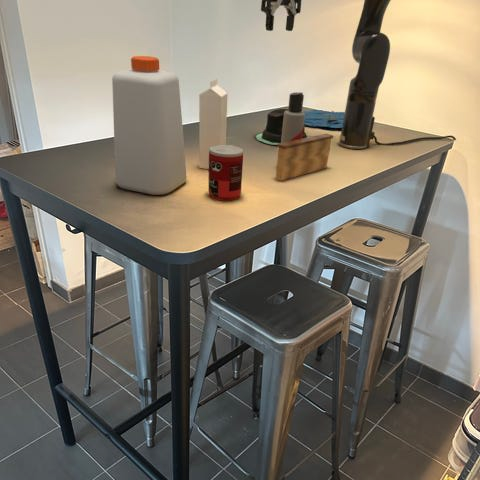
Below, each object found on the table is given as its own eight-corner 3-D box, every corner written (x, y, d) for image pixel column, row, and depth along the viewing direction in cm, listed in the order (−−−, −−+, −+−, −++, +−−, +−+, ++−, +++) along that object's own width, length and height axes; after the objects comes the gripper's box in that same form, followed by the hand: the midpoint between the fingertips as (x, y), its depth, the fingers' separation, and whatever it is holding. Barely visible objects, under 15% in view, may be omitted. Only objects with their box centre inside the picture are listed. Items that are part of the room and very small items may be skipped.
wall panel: (321, 165, 136) (326, 133, 131) (328, 168, 135) (333, 135, 130) (273, 178, 125) (277, 143, 119) (280, 181, 123) (284, 146, 118)
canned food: (207, 189, 115) (208, 144, 109) (239, 190, 116) (241, 145, 110) (208, 200, 109) (209, 153, 103) (242, 201, 110) (244, 154, 103)
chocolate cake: (279, 126, 170) (326, 138, 161) (250, 159, 165) (296, 174, 156) (272, 89, 158) (322, 100, 148) (240, 123, 152) (290, 137, 143)
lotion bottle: (296, 172, 130) (306, 95, 118) (277, 170, 131) (285, 93, 119) (298, 166, 135) (308, 91, 123) (279, 164, 135) (287, 89, 124)
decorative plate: (311, 136, 169) (313, 121, 166) (277, 116, 192) (278, 102, 188) (378, 129, 178) (381, 115, 175) (338, 111, 200) (340, 98, 197)
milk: (199, 168, 129) (198, 80, 116) (205, 162, 133) (205, 77, 120) (219, 170, 127) (221, 82, 115) (225, 164, 132) (228, 79, 119)
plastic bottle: (109, 187, 112) (94, 57, 96) (141, 170, 124) (133, 51, 107) (164, 199, 108) (158, 64, 92) (192, 180, 120) (191, 58, 104)
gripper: (278, -42, 119) (272, 32, 128) (312, -37, 127) (304, 32, 136) (257, -42, 123) (253, 29, 132) (292, -38, 131) (286, 29, 141)
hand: (279, 30), depth 134 cm, fingers open, 8 cm apart
